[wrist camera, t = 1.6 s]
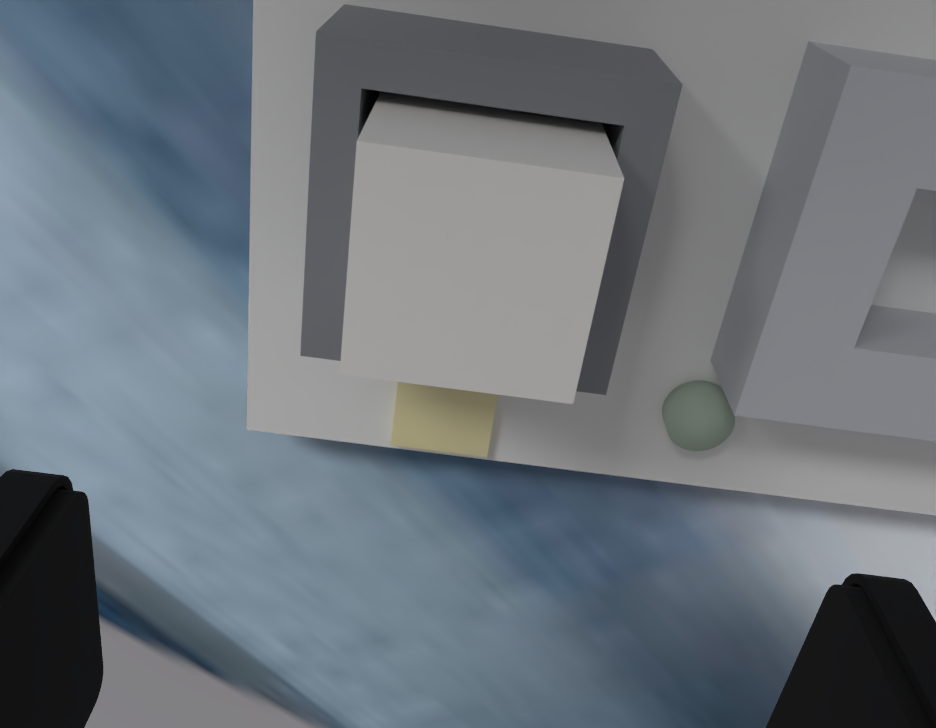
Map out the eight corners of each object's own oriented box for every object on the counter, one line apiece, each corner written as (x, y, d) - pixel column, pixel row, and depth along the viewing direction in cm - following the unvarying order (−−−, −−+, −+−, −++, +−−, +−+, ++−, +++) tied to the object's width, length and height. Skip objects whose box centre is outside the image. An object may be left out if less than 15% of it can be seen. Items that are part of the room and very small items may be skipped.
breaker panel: (277, -260, 21) (204, -300, 16) (1261, -103, 22) (1503, -92, 17) (261, 396, 30) (211, 511, 24) (963, 484, 31) (1060, 613, 25)
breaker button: (380, 92, 20) (356, 141, 16) (601, 123, 20) (624, 178, 17) (363, 293, 22) (339, 374, 19) (560, 320, 23) (573, 404, 19)
